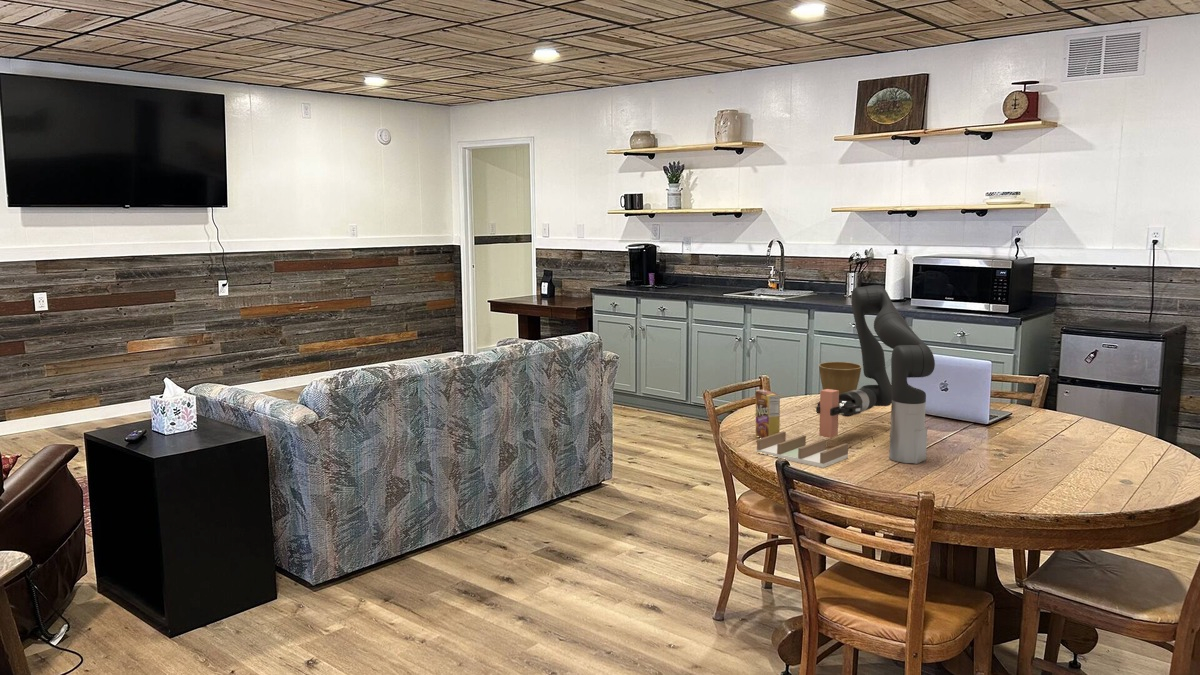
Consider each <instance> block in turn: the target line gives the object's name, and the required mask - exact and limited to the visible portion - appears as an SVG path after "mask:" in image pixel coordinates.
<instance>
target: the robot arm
mask: <svg viewBox="0 0 1200 675" xmlns="http://www.w3.org/2000/svg"><path fill="white" fill-rule="evenodd" d="M850 294H851V295H850V301H851V303H850V304H851V310H852V314H853V319H854V322H855V327H856V328H855V329H856V332H857V337H858V340H859V345H860V351H861V359H862V368H863V370H862V371H863V375H864V377H865V378H867V379H871V380H874V381H876V384H866V385H863V386H861V387H860V388H859V389H856V390H852V391H849V392H845V393H842V394H840V395H839V406H838V407H834V408H831V409H830V416H834V415H837V414H838V416H842V417H846V418H847V417H848V418H849V417H852V416H855V415H859V414H862V413H863V412H865V411H869V410H870V409H872V408H874V407H889V406H891V407H890V408H891V410H890V411H891V412H890V430H889V431H890V433H889V436H890V437H889V456H888V457H889V459H890V460H891V461H894V462H898V463H903V464H921V463H922V462H924V461H926V460H927V444H928V443H927V442H928V428H927V427H926V426H925V425H926V424H925V423H926V407H927V406H926V402H927V394H926V392H925V391H924V390H923V389H921V388H917V387H914V386H912V385H910V384H909V382H908V379H909V378H925V377H929V376H931V375H932V374H933V373H934V370H935V366H936V365H935V364H936V362H935V361H936V360H935V357H934V354H933V352H932V350H931V348H930V347H929V346H928V344H926V343H925V342H924V341H923V340H922V339H921V338H919V337H918V335H917V334H916V333H915V332H914V331H913V329H912V328H911V327H910V325H909V324H908V322H907V321H906V320H905V318H904V317H903V316H902V314H901V313H900V312H899V311H898V310H897V308H896V306H895V305H894V303H893V301H892V299H891V297H890V296H889V294H888V292H887V290H886V289H885V288H884V287H883V286H882V285H879V284H878V285H875V284H874V285H867V286H858V287H854V288H853V289H852V292H851V293H850ZM867 315H876V316H875V319H874V321H873V329H874V332H875V334H876V335H877V337H878V339H879V340H880V341H881V343H883V344H884V345H885V346H886V347H889V348H891V349H892V352H891V358H890V359H891V360H890V362H891V364H890V365H891V366H890V367H891V368H890V369H891V381H890V378H889V376H888V373H887V369H886V358H885V352H884V348H883V347H882V345H881V343H880V342H879V340H878V339H877V338H876V336H874V334H873V332H872V331H871V330H870V328H869V326H868V324H867V322H866V316H867ZM815 408H816V409H815V412H816V414H817V415H820V400H819V401H818V402H817V406H816V407H815Z"/></svg>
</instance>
